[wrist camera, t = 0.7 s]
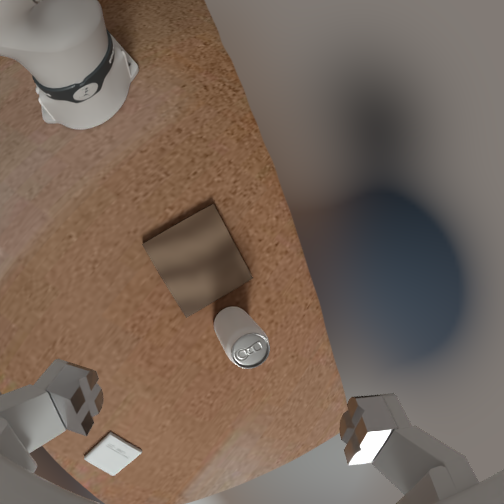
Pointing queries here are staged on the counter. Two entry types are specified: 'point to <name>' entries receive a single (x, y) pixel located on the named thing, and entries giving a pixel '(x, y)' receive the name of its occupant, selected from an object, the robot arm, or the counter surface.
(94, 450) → the external hard drive
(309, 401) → the counter surface
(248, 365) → the can
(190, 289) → the walnut board
